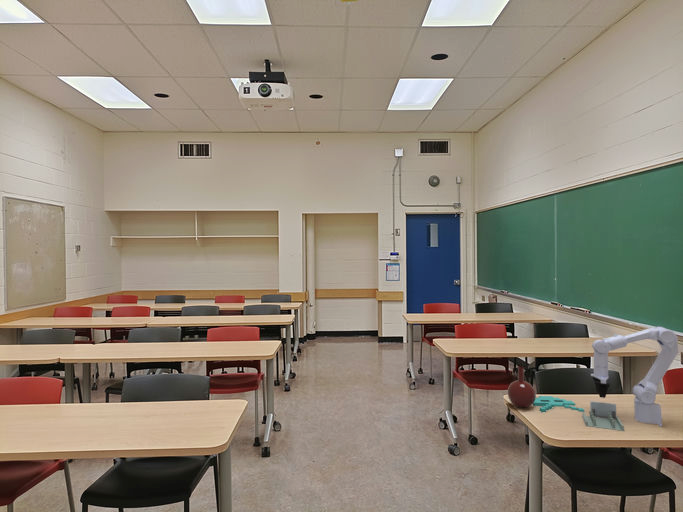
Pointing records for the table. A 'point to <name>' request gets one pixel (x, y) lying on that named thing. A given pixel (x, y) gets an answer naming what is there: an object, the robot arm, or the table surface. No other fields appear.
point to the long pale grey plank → (602, 408)
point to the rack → (603, 422)
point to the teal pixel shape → (554, 403)
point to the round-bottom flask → (521, 391)
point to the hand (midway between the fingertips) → (601, 395)
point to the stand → (604, 416)
